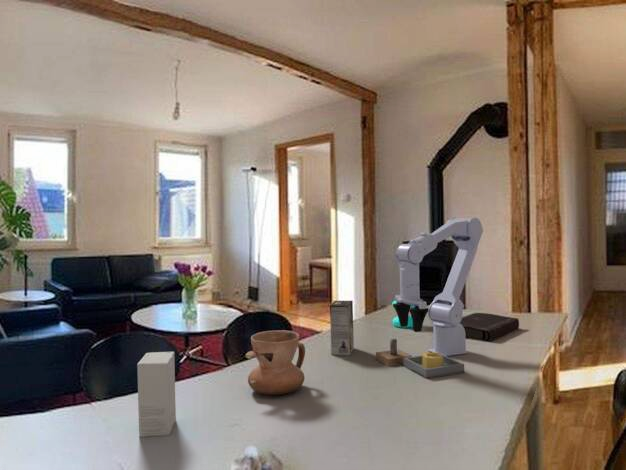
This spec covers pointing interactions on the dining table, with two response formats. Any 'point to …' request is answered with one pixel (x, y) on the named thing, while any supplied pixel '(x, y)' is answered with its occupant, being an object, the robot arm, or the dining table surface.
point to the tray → (448, 368)
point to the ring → (432, 360)
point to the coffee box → (341, 327)
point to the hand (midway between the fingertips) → (410, 328)
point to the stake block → (392, 355)
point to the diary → (488, 326)
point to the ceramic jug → (276, 362)
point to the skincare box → (156, 394)
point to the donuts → (397, 323)
